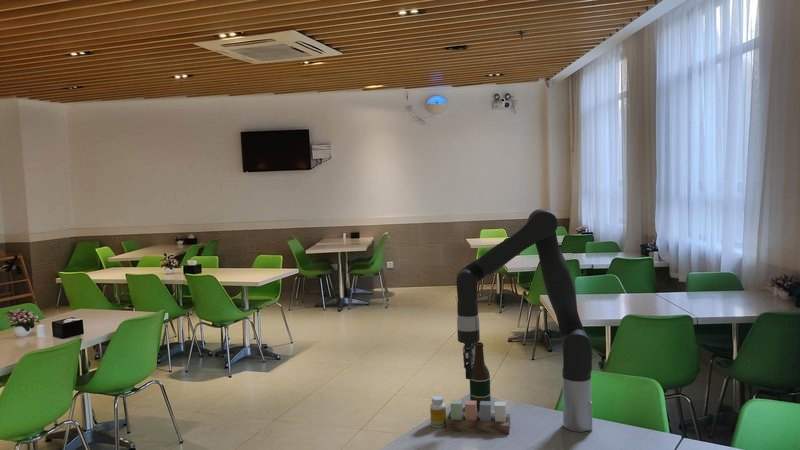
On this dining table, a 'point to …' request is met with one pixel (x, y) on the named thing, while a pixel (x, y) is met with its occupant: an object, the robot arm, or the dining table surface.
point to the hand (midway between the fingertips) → (469, 376)
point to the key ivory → (500, 411)
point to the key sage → (456, 410)
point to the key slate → (485, 411)
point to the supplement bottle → (438, 412)
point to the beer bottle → (480, 378)
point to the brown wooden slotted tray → (478, 425)
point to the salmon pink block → (471, 410)
